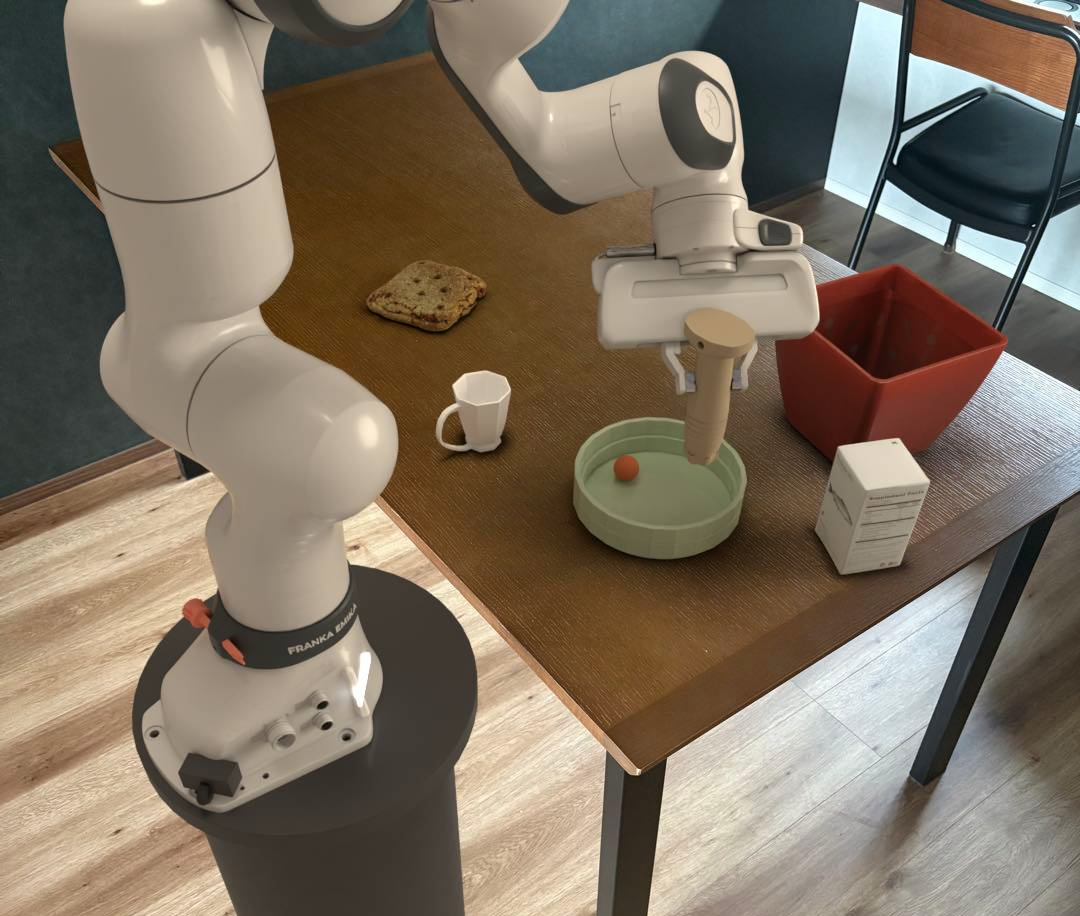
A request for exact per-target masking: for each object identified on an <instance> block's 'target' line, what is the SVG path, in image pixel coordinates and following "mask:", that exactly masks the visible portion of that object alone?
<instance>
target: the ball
mask: <svg viewBox="0 0 1080 916" xmlns="http://www.w3.org/2000/svg"><path fill="white" fill-rule="evenodd" d="M613 469H614V473H615V475H616V477H617V478H619V479H620V480H623V481H630V480H632V479H634V478H635V477H636V476H637V475H638V472H639V464H638V462H637V460H636V459H635V458H634V457H632V456H629V455H624V456H621V457H619V458H618V459H617V460H616V461H615V463H614V467H613Z"/></svg>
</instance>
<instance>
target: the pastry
mask: <svg viewBox="0 0 1080 916" xmlns="http://www.w3.org/2000/svg"><path fill="white" fill-rule="evenodd" d="M487 286H488V285H487V282H485V281H484V280H483V279H482V278H480V277H479V276H477V275H476V274H474V273H473V274H472V273H471V272H468V271H467V270H464V269H463V268H460V267H457V266H452V265H446V264H443V263H439V262H437V261H433V260H425V259H423V260H417V261H415V262H412V263H410V264H408V265H407V266H406V267H405V268H403V269H402V270H401V271H399V272H398V273H396V275H395V276H394V277H392V278H391V279H390V280H389V281H388V282H387V283H383V285H382V286H380V287H379V288H377V289H376V290H374V291H372V292H371V293H370V294H369V295H368V296H367V299H366V301H365V304H366V306H367V308H368V310H370V311H371V312H372V313H375V314H378V315H380V316H382V317H384V318H386V319H389V320H391V321H392V322H393V321H394V322H399V323H401V324H407V325H408V324H409V325H411V326H413V327H419V329H422V330H425V331H427V332H428V331H429V332H443V331H446V330H447V329H450V328H451V327H452V326H453V325H454V324H455V323H457V322H458V320H459V319H460V318H461V317H464V316H466V315H468V314H469V313H470V312H471V310H472V308H474V307H475V306H476V305H477V300H476V299H477V298H482V297H484V296H485V295H486V288H487Z"/></svg>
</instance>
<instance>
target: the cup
mask: <svg viewBox="0 0 1080 916" xmlns="http://www.w3.org/2000/svg"><path fill="white" fill-rule="evenodd" d="M451 387H452V391H453V395H454V399H455V403H453V404H451V405H449V406H447V407H445V409H444V410H442V412H441V413H440V415H439V417H438V418H437V422H436V426H435V437H436V440H437V442H438V443H439V444H440V445H442V447H444V448H446V449H448V450H451V451H456V452H467V451H469V450H473V451H476V452H479V453H484V452H490V451H495V449H496V448H497V447H498V446H499V445H500V444H502V438H501V436H502V435H503V432H504V429H505V426H506V422H507V417H508V411H509V405H510V401H511V394H512V389H511V386H510V383H509V381H508V379H507V377H506V376H504V375H501V374H499V373H495V372H493V371H490V370H486V369H485V370H479V371H473V372H466V373H463V374H462V375H461V376H460V377H459V378H458V379H457V380H456V381H455V382H454V383H453V384H451ZM456 412H457V415H458V418H459V421H460V423H461V426H462V429H463V432H464V435H465V436H464V439H465V442H466V443H465V444H463V445H455V444H449V443H446V442H444V441H443V438H442V434H443V427H444V423H445V422H446V420H447V418H448V416H450V415H451V414H452V413H456Z"/></svg>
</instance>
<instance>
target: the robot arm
mask: <svg viewBox="0 0 1080 916" xmlns="http://www.w3.org/2000/svg"><path fill="white" fill-rule="evenodd" d="M414 1H415V0H67V2H66V5H65V8H64V15H63V33H64V43H65V52H66V53H65V54H66V61H67V69H68V75H69V81H70V88H71V93H72V100H73V104H74V110H75V114H76V120H77V123H78V128H79V133H80V136H81V141H82V144H83V150H84V151H85V155H86V159H87V161H88V165H89V169H90V172H91V175H92V179H93V181H94V184H95V188H96V191H97V195H98V197H99V201H100V204H101V208H102V210H103V214H104V218H105V220H106V221H105V222H106V223H107V227H108V230H109V235H110V237H111V239H112V244H113V247H114V250H115V254H116V257H117V261H118V264H119V267H120V271H121V276H122V281H123V287H124V300H125V305H124V306H125V311H123V312H122V313H121V314H120V315H119V316H118V317H117V319H116V320H115V321H114V323H112V325H111V327H110V328H109V330H108V332H107V334H106V335H105V338H104V340H103V343H102V347H101V351H100V355H99V356H100V357H99V373H100V379H101V382H102V385H103V387H104V389H105V391H106V393H107V394H108V396H109V397H110V399H111V400H112V401H113V402H115V404H116V405H117V406H118V407H119V408H120V409H121V410H122V411H123V412H124V413H125V414H126V415H127V416H128V417H129V418H130V419H131V420H132V421H133V422H134V423H135V424H136V425H137V426H138V427H140V429H142V430H143V431H144V432H145V433H146V434H147V435H150V436H151V437H153V438H154V439H156V440H157V441H159V442H161V443H163V444H165V445H166V446H167V447H170V448H171V449H173V450H174V451H176V452H178V453H180V454H181V455H184V456H185V457H187V458H188V459H190V460H192V461H194V462H196V463H198V464H199V465H201V466H202V467H203V468H205V469H206V470H208V471H210V473H212V474H213V475H214V476H215V477H216V478H217V479H218V480H219V481H220V483H221V484H222V485H223V486H224V488H225V489H226V493H224V495H222V497H220V499H219V500H218V501H217V503H216V504H215V506H214V507H213V509H212V511H211V513H210V514H209V516H208V518H207V520H206V523H205V527H204V543H205V546H206V549H207V552H208V553H207V554H208V556H209V560H210V563H211V564H210V565H211V567H212V571H213V574H214V579H215V582H216V585H217V589H216V592H215V594H216V596H215V600H214V605H213V610H212V611H211V610H210V609H208V608H207V607H206V605H205V604H204V602H203V600H202V599H201V598H198V597H194V598H191V599H189V600H188V601H186V602H185V603H184V605H183V607H182V608H181V615H182V617H185V618H186V619H187V620H189V621H190V622H191V624H192V626H193V627H195V628H202V627H205V629H204V630H203V631H202V633H201V634H200V635H199V636H198V638H197V639H196V640H195V641H194V642H193V643H192V645H191V646H190V647H189V648H188V649H187V651H186V652H185V653H184V654H183V655H182V657H181V658H180V659H179V660H178V661H177V662H176V664H175V665H174V666H173V667H172V668H171V669H170V670H169V671H168V673H167V674H166V675H165V677H164V679H163V682H162V687H161V699H160V700H159V701H157V702H156V703H155V704H154V705H153V706H151V707H150V708H149V709H148V710H147V711H146V712H145V713H144V715H143V720H142V733H143V738H144V743H145V747H146V749H147V752H148V754H149V757H150V758H151V760H152V762H153V764H154V766H155V767H156V768H157V770H158V771H159V773H160V774H161V775H162V777H163V778H164V779H165V780H166V781H167V783H168V784H169V785H170V786H171V787H172V788H173V789H174V790H175V791H176V792H177V793H178V794H179V795H181V796H182V797H183V798H185V799H186V800H187V801H189V802H190V803H192V804H194V805H196V806H198V807H200V808H203V809H205V810H208V811H212V812H217V813H223V812H226V811H229V810H231V809H233V808H235V807H237V806H240V805H242V804H244V803H246V802H248V801H250V800H252V799H254V798H256V797H259V796H261V795H263V794H265V793H267V792H269V791H271V790H273V789H275V788H278V787H280V786H282V785H284V784H286V783H288V782H290V781H292V780H294V779H297V778H299V777H301V776H303V775H305V774H307V773H309V772H311V771H313V770H316V769H318V768H320V767H322V766H324V765H326V764H328V763H330V762H332V761H335V760H337V759H339V758H341V757H343V756H345V755H347V754H349V753H351V752H354V751H356V750H358V749H360V748H362V747H364V746H366V745H367V744H368V743H369V742H370V741H371V739H372V736H373V720H372V714H373V711H374V708H375V706H376V703H377V701H378V699H379V696H380V693H381V689H382V683H383V673H382V667H381V664H380V661H379V659H378V657H377V655H376V654H375V652H374V651H373V649H372V648H371V646H370V645H369V643H368V641H367V639H366V637H365V634H364V632H363V629H362V626H361V624H360V620H359V617H358V610H359V598H358V592H357V586H356V582H355V577H354V572H353V569H352V566H351V564H352V563H350V560H349V559H348V556H347V548H346V539H345V530H344V521H346V520H349V519H350V518H352V517H355V516H356V515H358V514H360V513H361V512H363V511H364V510H366V509H367V508H369V506H371V505H372V504H373V503H374V502H375V501H376V500H377V499H378V498H379V496H380V495H381V494H382V493H383V491H384V490H385V489H386V487H387V486H388V485H389V482H390V480H391V478H392V476H393V473H394V471H395V467H396V464H397V460H398V453H399V434H398V432H399V431H398V425H397V422H396V418H395V416H394V414H393V412H392V410H391V409H390V408H389V406H387V405H386V404H385V403H384V402H383V401H381V400H380V399H379V398H378V397H377V396H376V395H374V394H373V393H372V392H371V391H369V389H368V388H366V387H365V386H364V385H362V384H361V383H360V382H358V381H357V380H356V379H354V377H352V376H351V375H350V374H348V373H347V372H346V371H345V370H343V369H341V368H339V367H336V366H334V365H333V364H330V363H328V362H326V361H324V360H322V359H321V358H319V357H316V356H314V355H312V354H310V353H308V352H306V351H304V350H303V349H300V348H299V347H296V346H294V345H292V344H289V343H287V342H285V341H283V339H281V338H279V337H277V336H276V335H275V334H274V333H273V332H272V331H271V329H270V327H269V326H268V325H267V324H266V322H265V320H264V319H263V316H262V313H261V310H260V309H261V308H260V305H262V304H263V303H264V302H266V301H267V300H268V299H269V298H271V297H272V296H273V295H274V294H275V292H276V291H277V290H278V289H279V287H280V286H281V285H282V283H283V282H284V280H285V278H286V277H287V275H288V273H289V272H290V269H291V267H292V264H293V261H294V250H295V249H294V242H293V237H292V232H291V225H290V219H289V216H288V210H287V205H286V199H285V194H284V189H283V183H282V178H281V171H280V167H279V161H278V157H277V151H276V145H275V139H274V136H273V131H272V127H271V121H270V117H269V112H268V109H267V105H266V101H265V98H264V94H263V91H264V72H265V71H264V67H265V59H266V54H267V50H268V45H269V42H270V38H271V35H272V34H273V30H274V29H275V28H277V29H278V30H280V31H281V32H283V33H284V34H286V35H288V36H290V37H292V38H294V39H297V40H300V41H303V42H307V43H311V44H315V45H320V46H326V47H335V48H347V47H357V46H362V45H364V44H365V45H366V44H367V43H370V42H372V41H374V40H376V39H378V38H379V37H381V36H382V35H384V34H386V32H388V31H389V30H391V28H393V27H394V25H396V24H397V22H399V20H400V19H401V18H402V17H403V16H404V15H405V14H406V12H407V11H408V9H409V8H410V7H411V5H412V3H413V2H414ZM570 1H571V0H426V2H427V4H426V8H425V30H426V36H427V40H428V43H429V47H430V50H431V52H432V54H433V57H434V59H435V60H436V62H437V64H438V65H439V67H440V69H441V71H442V73H443V74H444V75H445V77H446V78H447V80H448V81H449V83H450V84H451V86H452V87H453V88H454V90H455V91H456V93H457V94H458V95H459V96H460V98H461V99H462V101H463V102H464V103H465V104H466V106H467V107H468V108H469V110H470V111H471V112H472V113H473V115H474V116H475V117H476V118H477V120H478V121H479V122H480V124H481V125H482V126H483V128H484V129H485V130H486V132H487V133H488V134H489V135H490V136H491V138H492V140H493V141H494V142H495V143H496V145H497V147H499V148H500V150H501V151H502V152H503V154H504V155H505V156H506V157H507V159H508V161H509V163H510V166H511V167H512V170H513V171H514V175H515V176H516V178H517V180H518V182H519V184H520V186H521V187H522V189H523V191H524V192H525V193H526V194H527V196H528V197H529V198H531V200H532V201H534V202H535V203H536V204H538V205H539V206H541V207H542V208H544V209H545V210H547V211H548V212H550V213H553V214H556V215H559V216H565V215H569V214H572V213H574V212H577V211H580V210H582V209H585V208H589V207H591V206H594V205H596V204H598V203H601V202H604V201H608V200H611V199H615V198H619V197H623V196H626V195H631V194H634V193H638V192H642V191H646V190H649V189H651V188H653V189H652V191H653V193H652V194H653V197H652V201H651V206H650V219H651V233H652V235H651V236H652V243H646V244H634V245H633V244H632V245H629V246H627V245H626V246H621V245H611V246H607V247H605V250H603V251H600V252H599V253H598V254H596V255H595V256H594V258H593V259H592V261H591V264H590V276H591V285H592V288H593V290H594V291H595V293H596V294H597V295H598V301H597V314H596V315H597V316H596V334H597V341H598V342H599V344H600V345H601V346H602V347H603V348H604V349H605V350H607V351H616V350H632V349H634V350H635V349H648V348H649V349H651V348H660V355H661V356H660V357H661V360H662V362H663V364H664V365H665V366H666V368H667V369H668V371H669V372H670V374H671V375H672V376H673V377H674V385H675V393H676V396H680V395H681V396H682V395H683V396H684V395H689V394H693V393H695V391H696V385H695V383H694V381H695V373H694V372H686V370H685V368H684V367H683V365H682V364H681V361H680V360H679V359H678V356H680V354H681V353H682V348H681V347H684V346H693V345H692V344H691V343H690V342H689V340H688V339H687V337H686V335H685V334H684V323H685V319H686V317H687V316H688V315H689V314H690V313H692V312H693V311H695V310H698V309H702V308H713V309H717V310H722V311H726V312H729V313H731V314H733V315H735V316H737V317H739V318H741V319H743V320H744V321H746V322H747V323H748V324H749V325H750V326H751V328H752V329H753V330H754V331H755V339H754V344H753V347H752V349H751V350H750V351H749V352H748V353H746V354H744V355H742V356H740V357H741V358H740V360H739V361H738V364H737V366H736V368H735V369H733V371H732V380H731V391H730V393H732V392H744V391H747V390H748V387H749V381H748V379H749V378H748V370H749V369H750V366H751V364H752V362H753V360H754V358H755V356H756V354H757V352H758V348H759V347H758V342H766V341H767V342H768V341H769V342H770V341H775V340H788V339H801V338H804V337H806V336H808V335H809V334H811V333H812V332H813V331H814V330H815V328H816V327H817V325H818V323H819V318H820V317H819V304H818V296H817V290H816V285H817V283H816V280H815V275H814V271H813V268H812V265H811V264H810V262H809V260H808V259H807V258H806V256H804V254H802V253H800V252H798V250H799V249H800V248H801V246H802V245H803V244H804V243H803V242H804V232H803V229H802V227H801V225H798V224H796V223H793V222H790V221H787V220H783V219H779V218H777V217H772V216H768V215H765V214H762V213H758V212H755V211H752V210H750V209H749V203H748V197H747V193H746V191H745V188H744V186H743V181H742V170H743V166H744V165H743V164H744V161H745V148H744V138H743V137H744V135H743V127H742V120H741V114H740V107H739V102H738V98H737V93H736V88H735V84H734V81H733V78H732V74H731V71H730V69H729V66H728V65H727V63H726V62H725V61H724V60H723V59H722V58H721V57H718V56H717V55H715V54H712V53H710V52H706V51H701V50H683V51H678V52H674V53H671V54H668V55H665V57H662V58H661V59H660V60H657V61H653V62H651V63H647V64H644V65H641V66H638V67H635V68H632V69H629V70H626V71H623V72H622V71H621V73H619V74H616V75H613V76H610V77H606V78H603V79H601V80H598V81H595V82H592V83H588V84H585V85H582V86H579V87H576V88H574V89H568V90H563V91H542V90H539V89H538V88H537V85H536V84H535V83H534V81H533V79H532V78H531V77H530V74H528V72H527V71H526V69H525V68H524V66H523V64H522V63H521V61H520V60H519V59H520V57H522V56H523V55H524V54H526V53H527V52H528V51H529V50H531V49H533V48H534V47H535V46H537V45H538V44H539V43H541V42H542V41H543V40H544V39H545V38H546V37H547V36H548V35H549V34H550V33H551V31H552V30H553V29H554V28H555V27H556V25H557V23H558V22H559V21H560V19H561V18H562V16H563V14H564V13H565V11H566V9H567V7H568V5H569V2H570ZM154 735H158V736H157V737H155V738H152V737H153V736H154ZM345 738H350V740H348V741H343V740H344V739H345Z"/></svg>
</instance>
